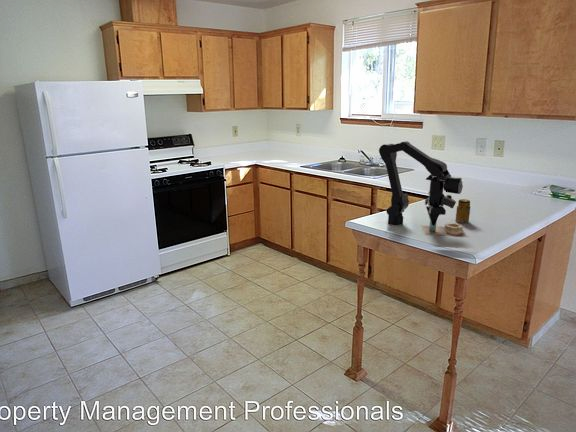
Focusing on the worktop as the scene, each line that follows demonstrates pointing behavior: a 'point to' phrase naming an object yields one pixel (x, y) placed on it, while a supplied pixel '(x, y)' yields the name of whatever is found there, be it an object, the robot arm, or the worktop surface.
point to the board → (441, 232)
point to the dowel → (432, 227)
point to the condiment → (463, 211)
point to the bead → (453, 228)
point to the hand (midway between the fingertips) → (432, 224)
